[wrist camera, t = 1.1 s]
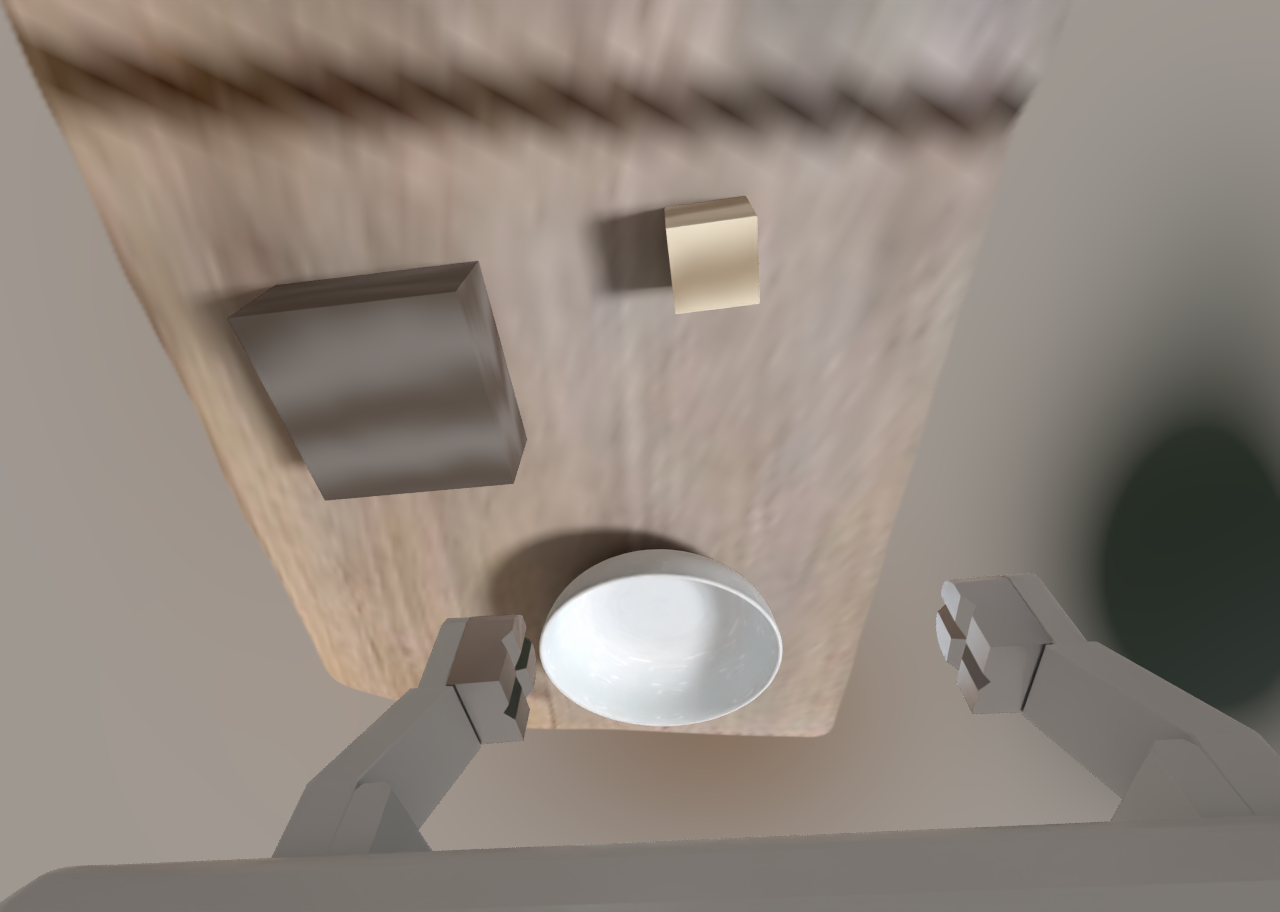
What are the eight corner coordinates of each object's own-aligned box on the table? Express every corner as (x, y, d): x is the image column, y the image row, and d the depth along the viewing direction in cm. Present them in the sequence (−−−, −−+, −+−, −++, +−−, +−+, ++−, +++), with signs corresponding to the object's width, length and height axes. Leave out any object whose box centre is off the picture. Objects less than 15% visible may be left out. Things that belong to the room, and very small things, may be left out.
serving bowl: (531, 522, 53) (516, 581, 47) (775, 510, 51) (790, 569, 46) (566, 670, 64) (557, 732, 59) (764, 663, 63) (776, 725, 58)
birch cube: (664, 207, 38) (665, 228, 33) (745, 195, 37) (757, 215, 33) (673, 285, 40) (675, 314, 36) (748, 275, 40) (759, 303, 36)
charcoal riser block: (278, 283, 41) (227, 318, 36) (479, 259, 40) (455, 291, 35) (357, 453, 49) (324, 500, 44) (527, 437, 48) (513, 483, 43)
